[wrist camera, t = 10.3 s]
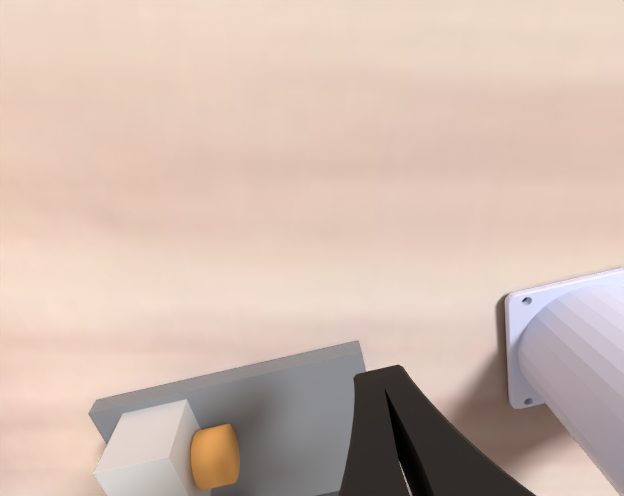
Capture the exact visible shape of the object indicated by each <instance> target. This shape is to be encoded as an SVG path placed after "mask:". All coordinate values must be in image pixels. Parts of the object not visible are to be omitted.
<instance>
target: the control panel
mask: <svg viewBox="0 0 624 496" xmlns="http://www.w3.org/2000/svg"><path fill="white" fill-rule="evenodd" d="M363 372H366V370H365V365H364V361H363V356H362V352H361V348H360V344H359V341H354V342H350V343H345V344H341V345H336V346H332V347H328V348H323V349H319V350H314V351H310V352H306V353H301V354H297V355H292V356H288V357H284V358H279V359H275V360H270V361H266V362H262V363H257V364H253V365H248V366H244V367H240V368H235V369H231V370H226V371H222V372H218V373H213V374H209V375H204V376H200V377H195V378H191V379H187V380H182V381H178V382H173V383H169V384H165V385H160V386H156V387H151V388H147V389H143V390H138V391H134V392H129V393H125V394H121V395H116V396H112V397H107V398H103V399H99V400H96V402H95V403H94V405H93V407H92V408H91V410H90V412H89V413H88V414H89V416H90V417H91V419H92V421H93V422H94V424H95V426H96V427H97V429H98V431H99V432H100V434H101V436H102V437H103V439H104V441H105V442H106V444H107V446H106V448H105V450H104V452H103V454H102V456H101V458H100V461H99V463H98V465H97V467H96V469H95V471H94V473H93V475H94V476H95V478H96V480H97V481H98V483H99V484H100V486H101V487H102V489H103V490H104V492H105V494H106V495H107V496H338V495H339V491H340V487H341V484H342V479H343V475H344V471H345V466H346V461H347V455H348V450H349V445H350V439H351V431H352V423H353V415H354V381H353V378H354V376H355V375H356V374H359V373H363ZM224 424H231V425H232V427H233V428H234V431H235V433H236V436H237V440H238V445H239V454H240V470H239V476H238V479H237V481H236V482H235V483H233V484H229V485H224V486H220V487H215V488H210V489H206V490H201V489H199V488H198V486H197V485H196V483H195V480H194V477H193V473H192V467H191V446H192V440H193V437H194V435H195V433H196V432H197V431H198V430H202V429H207V428H211V427H216V426H220V425H224Z"/></svg>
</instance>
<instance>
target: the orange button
mask: <svg viewBox="0 0 624 496" xmlns="http://www.w3.org/2000/svg"><path fill="white" fill-rule="evenodd" d="M191 467H192V473H193V477H194V480H195V483H196V485H197V486H198V488H199V489H201V490H206V489H210V488H215V487H220V486H224V485H229V484H233V483H235V482H236V481H237V479H238V476H239V470H240V454H239V445H238V440H237V436H236V433H235V431H234V428H233V427H232V425H231V424H224V425H220V426H216V427H211V428H207V429H202V430H198V431H197V432H196V433H195V435H194V437H193V440H192V446H191Z"/></svg>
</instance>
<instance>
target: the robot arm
mask: <svg viewBox="0 0 624 496" xmlns="http://www.w3.org/2000/svg"><path fill="white" fill-rule="evenodd" d="M526 297H527V299H526V301H524V302H522V300H523V299H524V298H526ZM505 324H506V347H507V370H508V394H509V403H510V404H511V406H512V407H513V408H514V409H523V408H527V407H532V406H536V405H541V404H545V403H546V405H547V406H548V407H549V408H550V410H551V411H552V412H553V413H554V414H555V416H556V417H557V418H558V419H559V421H560V422H561V423H562V424H563V426H564V427H565V428H566V429H567V431H568V432H569V433H570V434H571V435H572V437H573V438H574V439H575V440H576V442H577V443H578V444H579V445H580V447H581V448H582V449H583V450H584V452H585V453H586V454H587V455H588V456H589V458H590V459H591V460H592V461H593V463H594V464H595V465H596V466H597V468H598V469H599V470H600V471H601V473H602V474H603V475H604V476H605V478H606V479H607V480H608V481H609V482H610V484H611V485H612V486H613V487H614V489H615V490H616V491H617V492H618V494H619V495H620V496H624V267H622V268H618V269H613V270H609V271H604V272H600V273H596V274H591V275H587V276H582V277H578V278H574V279H569V280H565V281H561V282H556V283H552V284H547V285H543V286H539V287H534V288H530V289H525V290H521V291H517V292H513V293H510V294H509V295H508V296H507V297H506V299H505ZM353 381H354V415H353V423H352V431H351V439H350V445H349V450H348V455H347V461H346V466H345V471H344V475H343V479H342V484H341V487H340V491H339V495H338V496H410V495H409V492H408V489H407V486H406V482H405V479H404V476H403V473H402V470H401V467H402V469H403V472H404V474H405V477H406V480H407V482H408V485H409V487H410V490H411V493H412V495H413V496H536V495H535V494H533V493H532V492H530V491H529V490H528V489H526V488H525V487H524V486H523V485H521V484H520V483H519V482H517V481H516V480H515V479H514V478H512V477H511V476H510V475H508V474H507V473H506V472H505V471H503V470H502V469H501V468H500V467H499V466H497V465H496V464H495V463H494V462H492V461H491V460H490V459H489V458H488V457H487V456H485V455H484V454H483V453H482V452H481V451H480V450H479V449H477V448H476V447H475V446H474V445H473V444H472V443H471V442H470V441H469V440H468V439H467V438H466V437H464V436H463V435H462V434H461V433H460V432H459V431H458V430H457V429H456V428H455V427H454V426H453V425H452V424H451V423H450V422H449V421H448V420H447V419H446V418H445V417H444V416H443V415H442V414H441V413H440V412H439V410H438V409H437V408H436V407H435V406H434V405H433V404H432V403H431V402H430V401H429V400H428V399H427V397H426V396H425V395H424V394H423V393H422V391H421V390H420V389H419V388H418V387H417V385H416V384H415V383H414V382H413V380H412V379H411V378H410V376H409V375H408V374H407V372H406V371H405V369H404V368H403V367H402V366H400V365H395V366H390V367H386V368H381V369H377V370H372V371H368V372H363V373H359V374H356V375H355V376H354V378H353ZM399 461H400V463H399ZM400 464H401V467H400Z"/></svg>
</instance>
